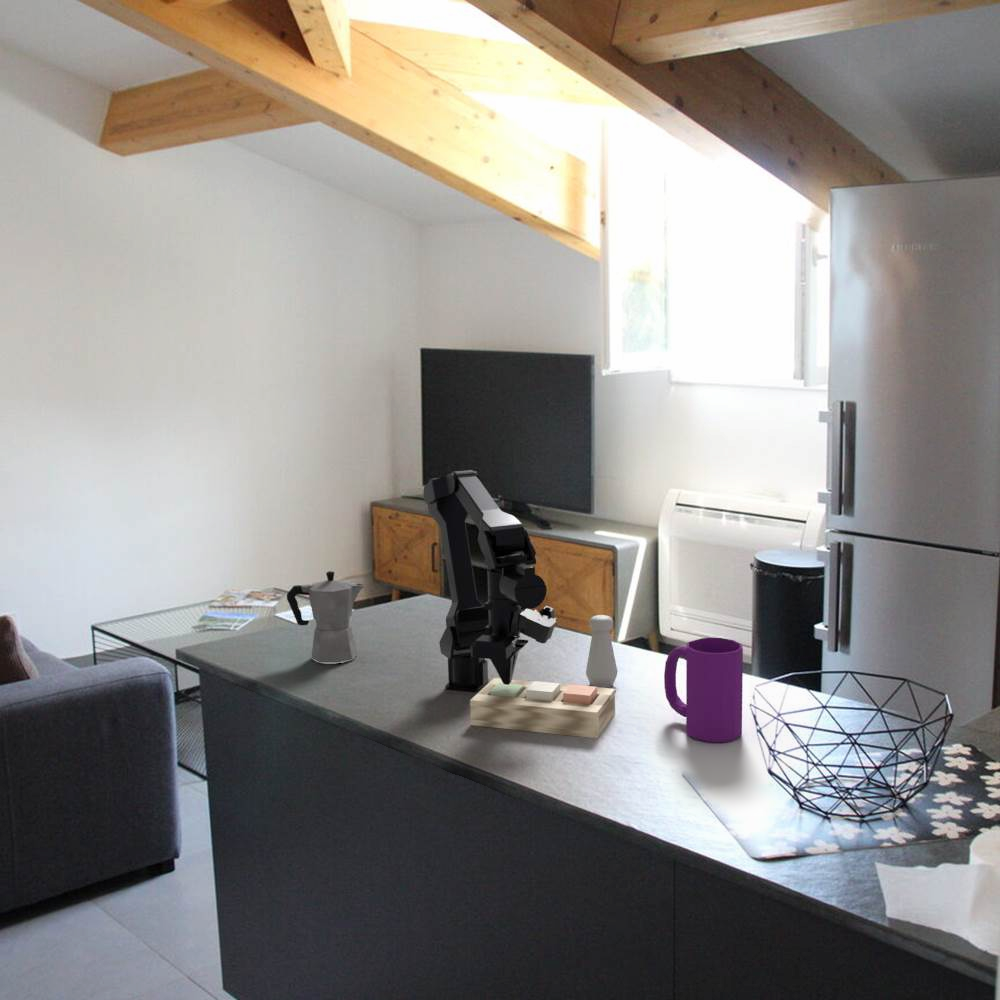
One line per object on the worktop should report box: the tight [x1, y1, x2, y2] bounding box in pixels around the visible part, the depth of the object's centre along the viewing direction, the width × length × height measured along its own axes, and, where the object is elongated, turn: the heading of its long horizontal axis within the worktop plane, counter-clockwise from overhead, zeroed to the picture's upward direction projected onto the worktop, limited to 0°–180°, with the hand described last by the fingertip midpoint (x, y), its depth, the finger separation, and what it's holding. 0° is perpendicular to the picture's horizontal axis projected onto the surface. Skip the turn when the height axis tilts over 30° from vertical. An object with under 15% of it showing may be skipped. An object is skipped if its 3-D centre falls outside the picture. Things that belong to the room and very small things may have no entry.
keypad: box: [469, 677, 616, 739], centre depth 197 cm, size 22×12×4 cm, turn 70°
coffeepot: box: [286, 570, 365, 662], centre depth 232 cm, size 15×9×18 cm, turn 102°
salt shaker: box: [585, 614, 618, 688], centre depth 213 cm, size 6×6×13 cm
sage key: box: [490, 683, 524, 698], centre depth 199 cm, size 5×5×3 cm
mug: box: [663, 637, 744, 744], centre depth 190 cm, size 9×16×15 cm, turn 37°
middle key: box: [526, 680, 561, 701], centre depth 196 cm, size 5×5×3 cm
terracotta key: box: [563, 684, 597, 705], centre depth 194 cm, size 5×5×3 cm
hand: (507, 683), depth 198 cm, fingers closed
